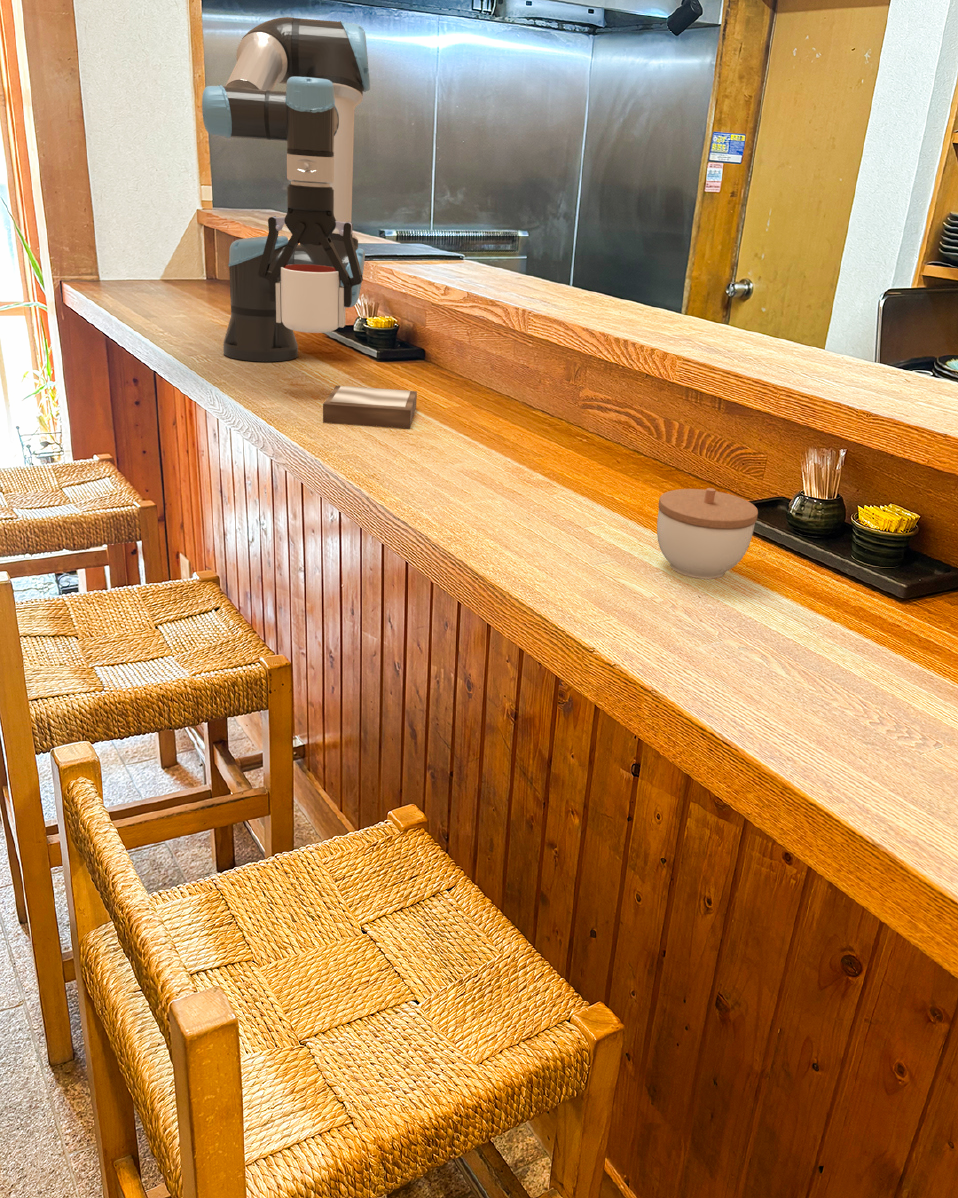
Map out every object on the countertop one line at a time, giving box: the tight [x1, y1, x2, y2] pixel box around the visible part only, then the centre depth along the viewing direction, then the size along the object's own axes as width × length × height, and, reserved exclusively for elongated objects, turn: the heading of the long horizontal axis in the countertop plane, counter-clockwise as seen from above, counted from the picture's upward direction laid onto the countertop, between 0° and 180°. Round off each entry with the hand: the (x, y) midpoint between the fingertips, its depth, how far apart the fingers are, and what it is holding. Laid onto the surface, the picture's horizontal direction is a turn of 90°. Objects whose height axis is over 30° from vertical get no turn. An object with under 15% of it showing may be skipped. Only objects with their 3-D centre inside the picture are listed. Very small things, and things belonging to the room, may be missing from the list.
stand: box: [322, 385, 418, 430], centre depth 163 cm, size 14×14×3 cm
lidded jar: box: [656, 487, 759, 580], centre depth 108 cm, size 11×11×9 cm
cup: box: [281, 264, 341, 334], centre depth 167 cm, size 10×10×10 cm
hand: (311, 323), depth 169 cm, fingers closed on cup, 10 cm apart
